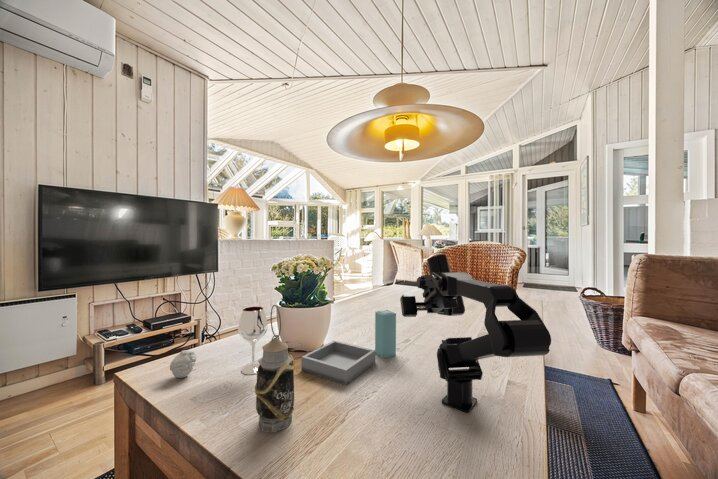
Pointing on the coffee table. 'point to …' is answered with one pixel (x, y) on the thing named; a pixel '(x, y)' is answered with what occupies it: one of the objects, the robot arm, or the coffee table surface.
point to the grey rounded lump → (183, 363)
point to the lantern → (275, 385)
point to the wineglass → (252, 332)
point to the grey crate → (338, 361)
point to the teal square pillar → (385, 333)
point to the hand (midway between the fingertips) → (424, 312)
